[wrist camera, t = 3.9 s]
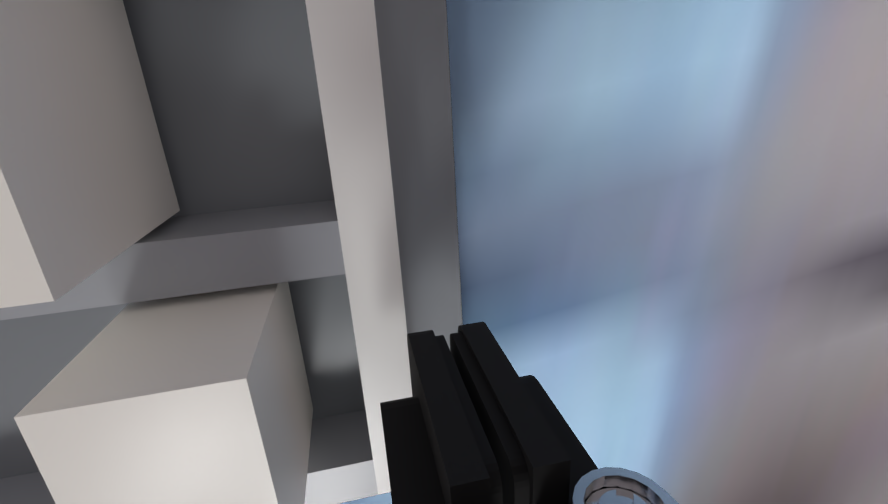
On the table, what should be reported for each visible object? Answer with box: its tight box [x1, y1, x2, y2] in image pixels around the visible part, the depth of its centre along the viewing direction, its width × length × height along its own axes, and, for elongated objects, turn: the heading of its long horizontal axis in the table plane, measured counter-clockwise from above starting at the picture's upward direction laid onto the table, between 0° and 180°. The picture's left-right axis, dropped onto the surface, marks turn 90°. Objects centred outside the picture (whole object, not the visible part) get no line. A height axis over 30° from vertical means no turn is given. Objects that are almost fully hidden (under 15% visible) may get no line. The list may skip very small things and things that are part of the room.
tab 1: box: [14, 282, 313, 504], centre depth 9 cm, size 3×4×5 cm
